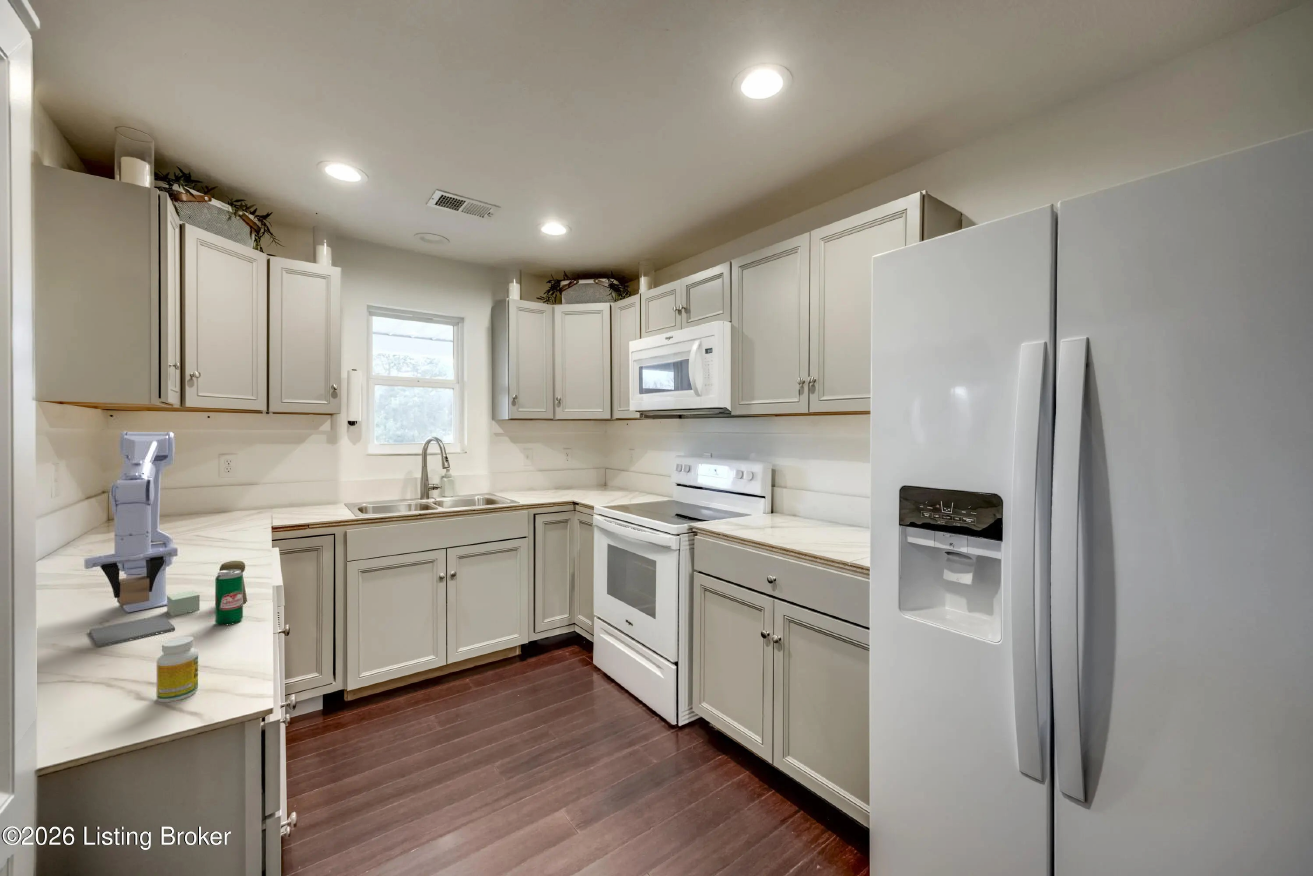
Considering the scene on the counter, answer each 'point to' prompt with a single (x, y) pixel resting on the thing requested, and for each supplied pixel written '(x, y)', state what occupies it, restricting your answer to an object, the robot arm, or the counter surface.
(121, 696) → the counter surface
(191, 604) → the sage block
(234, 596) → the soda can
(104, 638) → the mat
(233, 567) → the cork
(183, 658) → the supplement bottle
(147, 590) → the walnut block
